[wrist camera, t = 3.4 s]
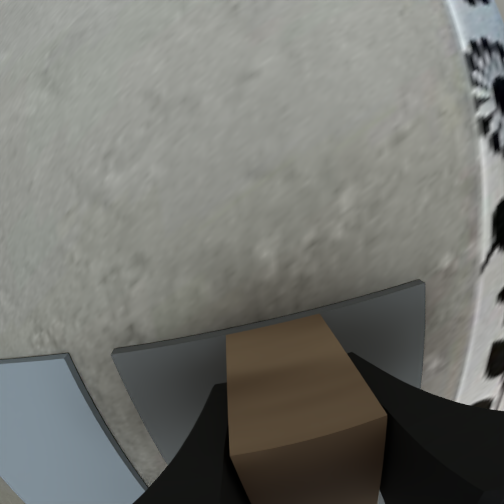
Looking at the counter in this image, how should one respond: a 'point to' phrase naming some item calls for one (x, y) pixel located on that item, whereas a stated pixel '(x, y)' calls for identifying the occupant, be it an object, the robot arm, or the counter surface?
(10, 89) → the counter surface
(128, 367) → the charcoal mat
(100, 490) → the slate mat
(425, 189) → the counter surface
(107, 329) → the counter surface
